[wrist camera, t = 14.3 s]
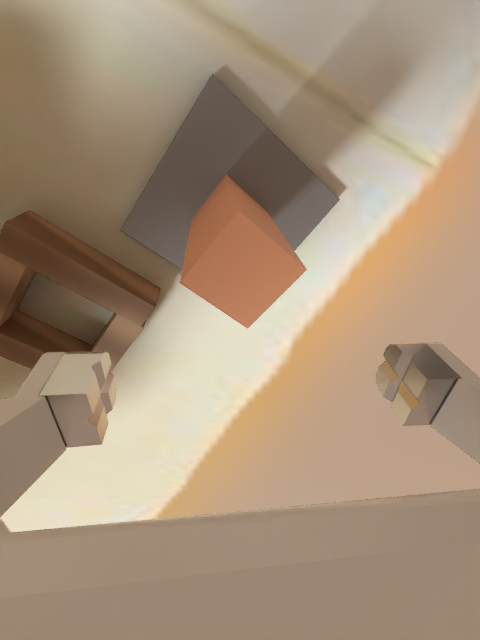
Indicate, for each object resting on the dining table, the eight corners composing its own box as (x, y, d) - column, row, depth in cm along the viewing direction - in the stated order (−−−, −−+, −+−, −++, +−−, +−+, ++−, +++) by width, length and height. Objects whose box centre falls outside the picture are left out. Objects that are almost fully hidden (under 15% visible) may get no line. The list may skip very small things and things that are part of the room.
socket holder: (104, 370, 34) (94, 393, 31) (-20, 316, 29) (-46, 337, 26) (162, 290, 29) (157, 308, 26) (26, 208, 24) (1, 220, 22)
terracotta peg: (233, 252, 27) (247, 328, 17) (191, 219, 25) (180, 282, 15) (267, 212, 25) (306, 269, 15) (225, 173, 23) (239, 210, 13)
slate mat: (241, 304, 31) (242, 309, 30) (123, 227, 26) (120, 230, 25) (335, 197, 26) (339, 199, 25) (212, 75, 21) (212, 73, 20)
